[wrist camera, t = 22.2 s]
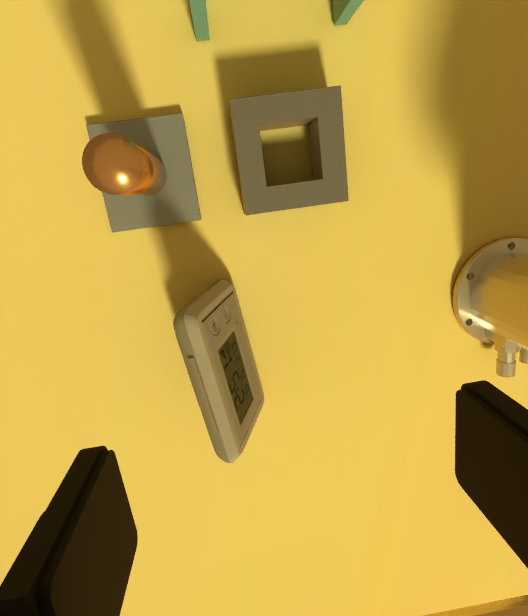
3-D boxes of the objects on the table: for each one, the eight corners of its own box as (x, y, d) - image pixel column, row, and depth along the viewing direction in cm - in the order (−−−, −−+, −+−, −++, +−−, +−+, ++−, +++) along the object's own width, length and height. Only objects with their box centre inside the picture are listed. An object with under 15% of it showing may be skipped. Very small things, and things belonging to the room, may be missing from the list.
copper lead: (170, 192, 39) (148, 190, 27) (129, 198, 39) (90, 198, 27) (161, 150, 38) (135, 129, 26) (120, 155, 38) (75, 136, 26)
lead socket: (337, 200, 42) (348, 200, 38) (243, 213, 41) (246, 215, 37) (329, 96, 39) (340, 85, 35) (229, 109, 38) (229, 99, 34)
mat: (201, 219, 41) (200, 219, 40) (114, 231, 40) (112, 232, 39) (182, 114, 38) (182, 113, 37) (89, 126, 37) (86, 125, 37)
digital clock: (263, 406, 48) (274, 463, 37) (188, 412, 47) (178, 472, 37) (257, 275, 43) (268, 299, 33) (174, 280, 42) (159, 306, 32)
